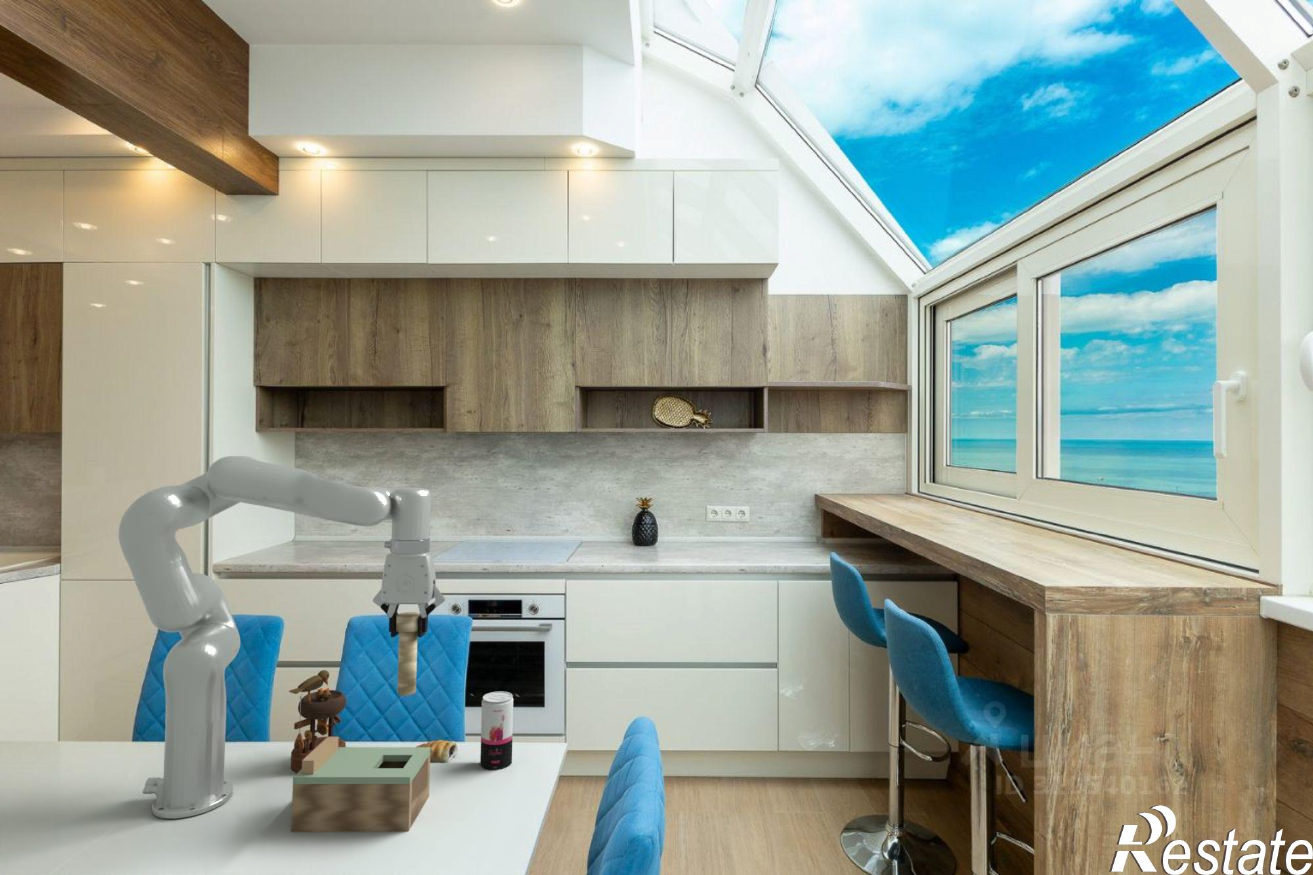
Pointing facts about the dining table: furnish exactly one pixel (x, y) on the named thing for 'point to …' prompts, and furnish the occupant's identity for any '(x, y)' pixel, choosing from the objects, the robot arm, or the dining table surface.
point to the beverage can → (496, 730)
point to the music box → (316, 716)
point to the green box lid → (359, 764)
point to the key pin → (407, 652)
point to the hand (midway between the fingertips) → (408, 634)
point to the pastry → (441, 751)
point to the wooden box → (360, 804)
